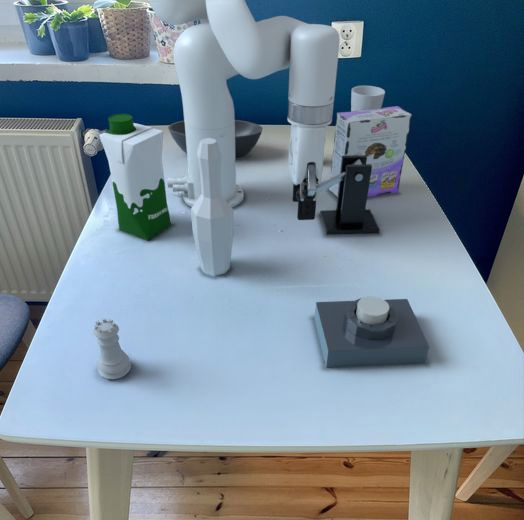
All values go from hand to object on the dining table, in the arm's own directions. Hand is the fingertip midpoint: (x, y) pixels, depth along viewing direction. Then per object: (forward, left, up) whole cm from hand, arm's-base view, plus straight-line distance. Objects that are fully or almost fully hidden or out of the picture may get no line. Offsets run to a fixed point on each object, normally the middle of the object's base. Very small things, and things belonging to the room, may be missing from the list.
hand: (303, 209), depth 102 cm
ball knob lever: (+5, 0, +4) cm, 6 cm away
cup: (+21, +43, -4) cm, 48 cm away
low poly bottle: (-17, -14, -4) cm, 22 cm away
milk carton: (-30, +1, -4) cm, 30 cm away
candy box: (+15, +14, -4) cm, 21 cm away
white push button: (+5, -34, +1) cm, 34 cm away
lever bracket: (+9, 0, -4) cm, 10 cm away
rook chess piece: (-31, -38, -4) cm, 49 cm away
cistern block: (+5, -34, -4) cm, 35 cm away
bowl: (-16, +36, -4) cm, 40 cm away
